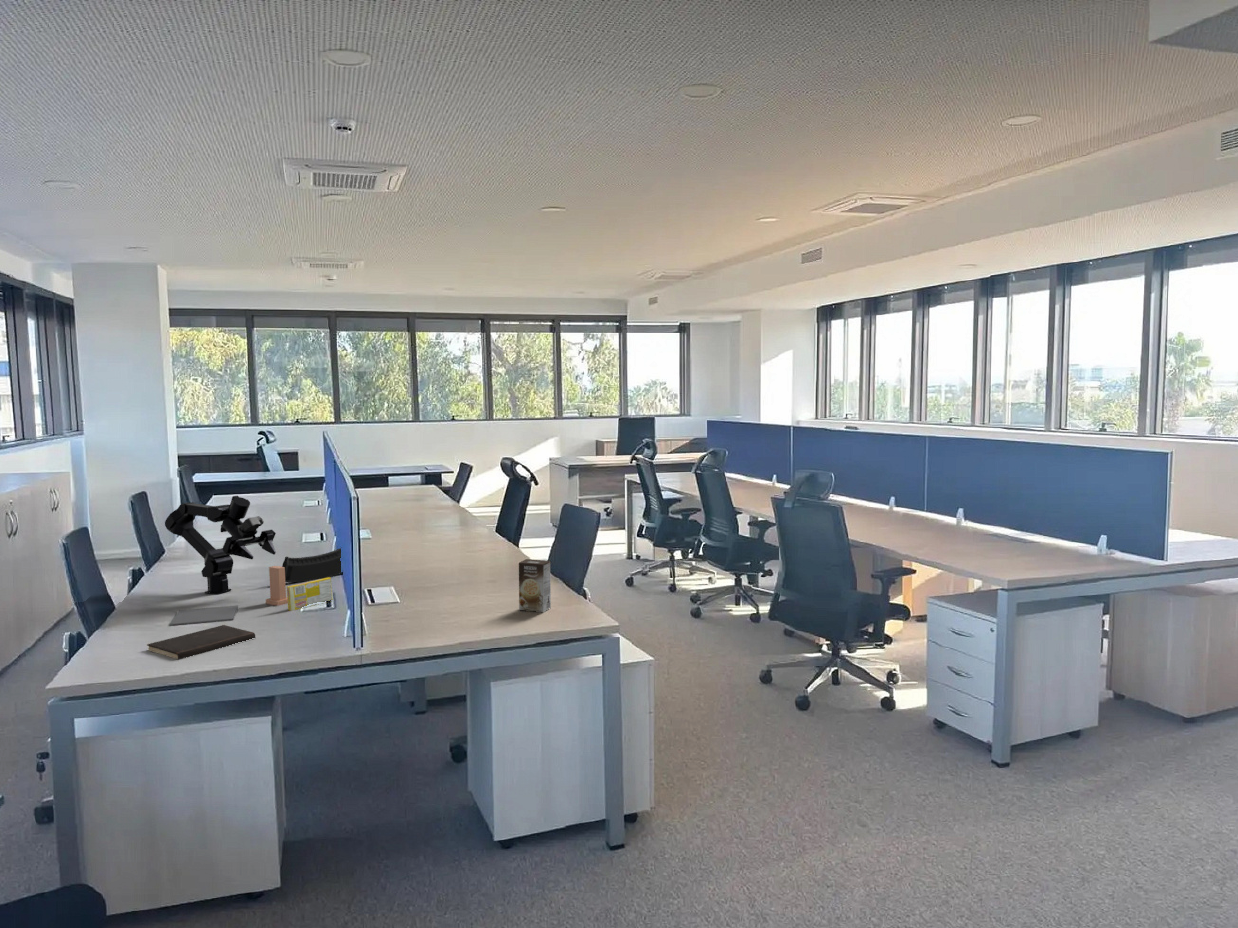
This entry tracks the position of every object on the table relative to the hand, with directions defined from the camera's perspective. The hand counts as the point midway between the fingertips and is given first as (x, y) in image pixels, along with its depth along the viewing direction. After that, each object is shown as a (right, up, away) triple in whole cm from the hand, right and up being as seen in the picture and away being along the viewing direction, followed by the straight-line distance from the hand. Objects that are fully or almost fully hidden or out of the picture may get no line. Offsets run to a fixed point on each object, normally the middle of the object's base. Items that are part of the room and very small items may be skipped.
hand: (264, 555), depth 292 cm
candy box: (+19, -16, -8) cm, 26 cm away
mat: (-11, -17, -20) cm, 28 cm away
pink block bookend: (+7, -16, -4) cm, 17 cm away
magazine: (+7, -13, +34) cm, 37 cm away
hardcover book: (+4, -21, -51) cm, 55 cm away
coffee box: (+96, -16, -16) cm, 99 cm away
